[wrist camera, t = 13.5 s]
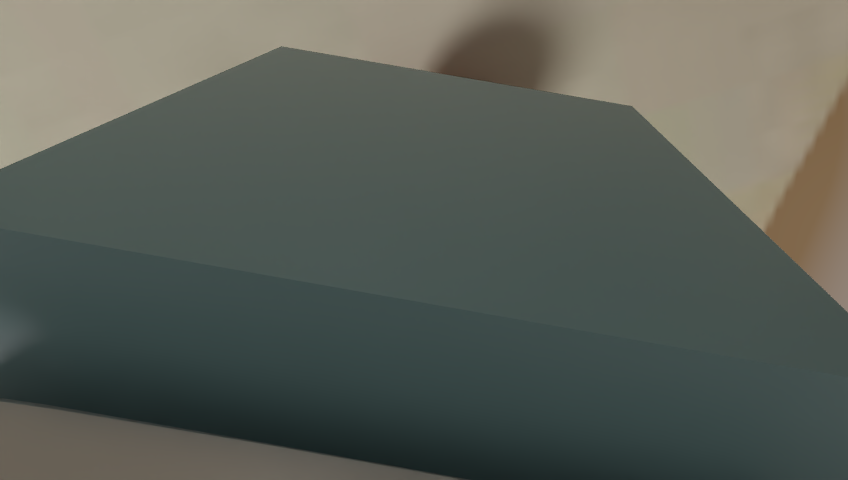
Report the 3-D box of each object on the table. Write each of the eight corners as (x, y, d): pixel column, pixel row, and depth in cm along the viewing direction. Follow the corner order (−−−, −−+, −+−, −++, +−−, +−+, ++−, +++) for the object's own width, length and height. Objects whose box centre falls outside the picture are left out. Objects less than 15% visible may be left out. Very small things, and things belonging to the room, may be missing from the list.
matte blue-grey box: (632, 106, 12) (931, 392, 4) (543, 377, 15) (610, 808, 8) (281, 46, 12) (-98, 210, 4) (274, 329, 15) (64, 706, 8)
